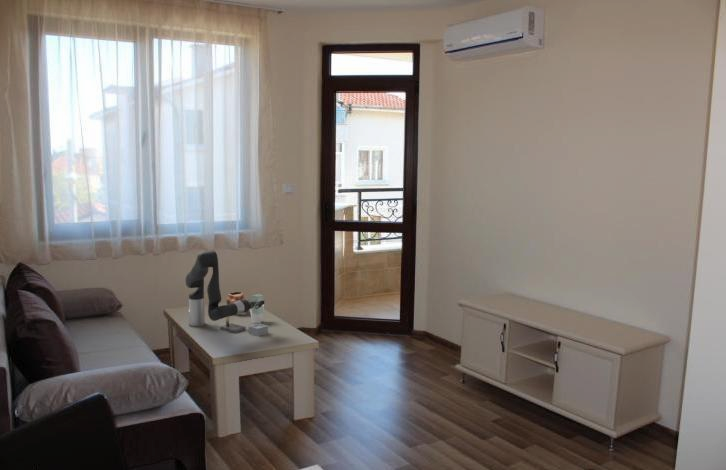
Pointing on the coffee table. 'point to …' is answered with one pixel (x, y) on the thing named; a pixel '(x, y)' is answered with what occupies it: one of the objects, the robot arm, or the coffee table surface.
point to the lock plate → (233, 328)
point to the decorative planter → (234, 297)
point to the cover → (258, 299)
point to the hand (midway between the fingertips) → (260, 301)
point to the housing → (258, 329)
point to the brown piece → (228, 319)
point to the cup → (256, 316)
